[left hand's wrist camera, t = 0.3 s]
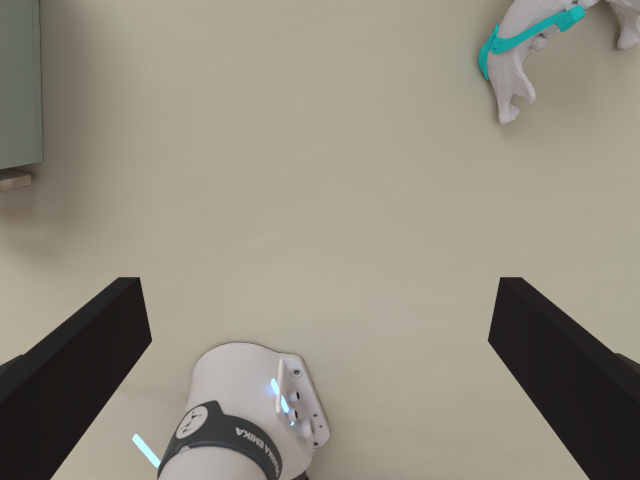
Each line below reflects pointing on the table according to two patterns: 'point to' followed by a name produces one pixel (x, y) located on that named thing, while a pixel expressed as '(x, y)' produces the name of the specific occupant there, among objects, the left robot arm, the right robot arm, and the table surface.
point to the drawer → (13, 179)
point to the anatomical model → (539, 43)
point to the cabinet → (20, 84)
